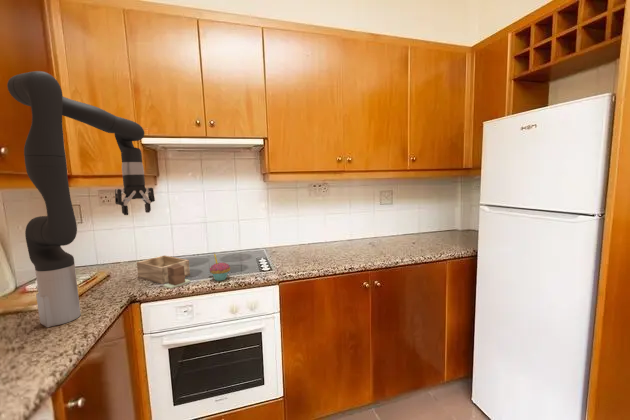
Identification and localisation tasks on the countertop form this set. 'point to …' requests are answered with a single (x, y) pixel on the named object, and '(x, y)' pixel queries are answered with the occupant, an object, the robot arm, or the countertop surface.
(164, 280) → the crate
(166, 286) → the mat
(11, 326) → the countertop surface
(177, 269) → the walnut block
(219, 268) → the cupcake
